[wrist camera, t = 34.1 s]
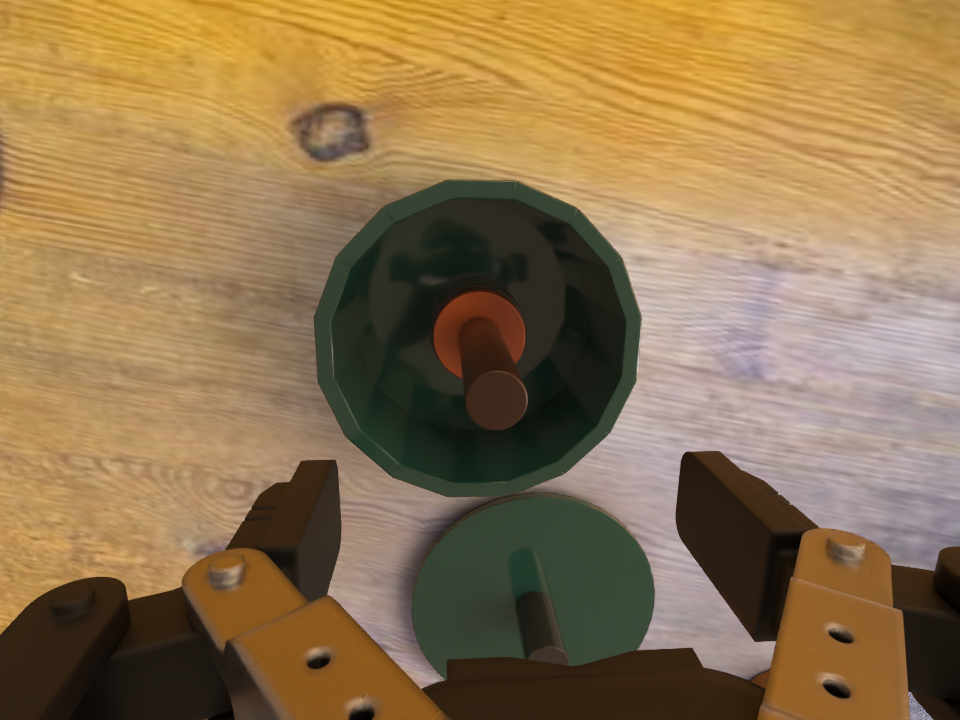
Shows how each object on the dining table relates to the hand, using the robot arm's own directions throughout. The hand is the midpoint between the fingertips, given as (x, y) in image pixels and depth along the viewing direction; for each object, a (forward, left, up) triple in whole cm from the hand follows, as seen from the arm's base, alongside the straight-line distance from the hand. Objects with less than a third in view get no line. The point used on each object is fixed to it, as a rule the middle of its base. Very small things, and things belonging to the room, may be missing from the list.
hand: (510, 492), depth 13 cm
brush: (0, 0, -21) cm, 21 cm away
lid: (+4, -19, -21) cm, 29 cm away
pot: (0, 0, -22) cm, 22 cm away
